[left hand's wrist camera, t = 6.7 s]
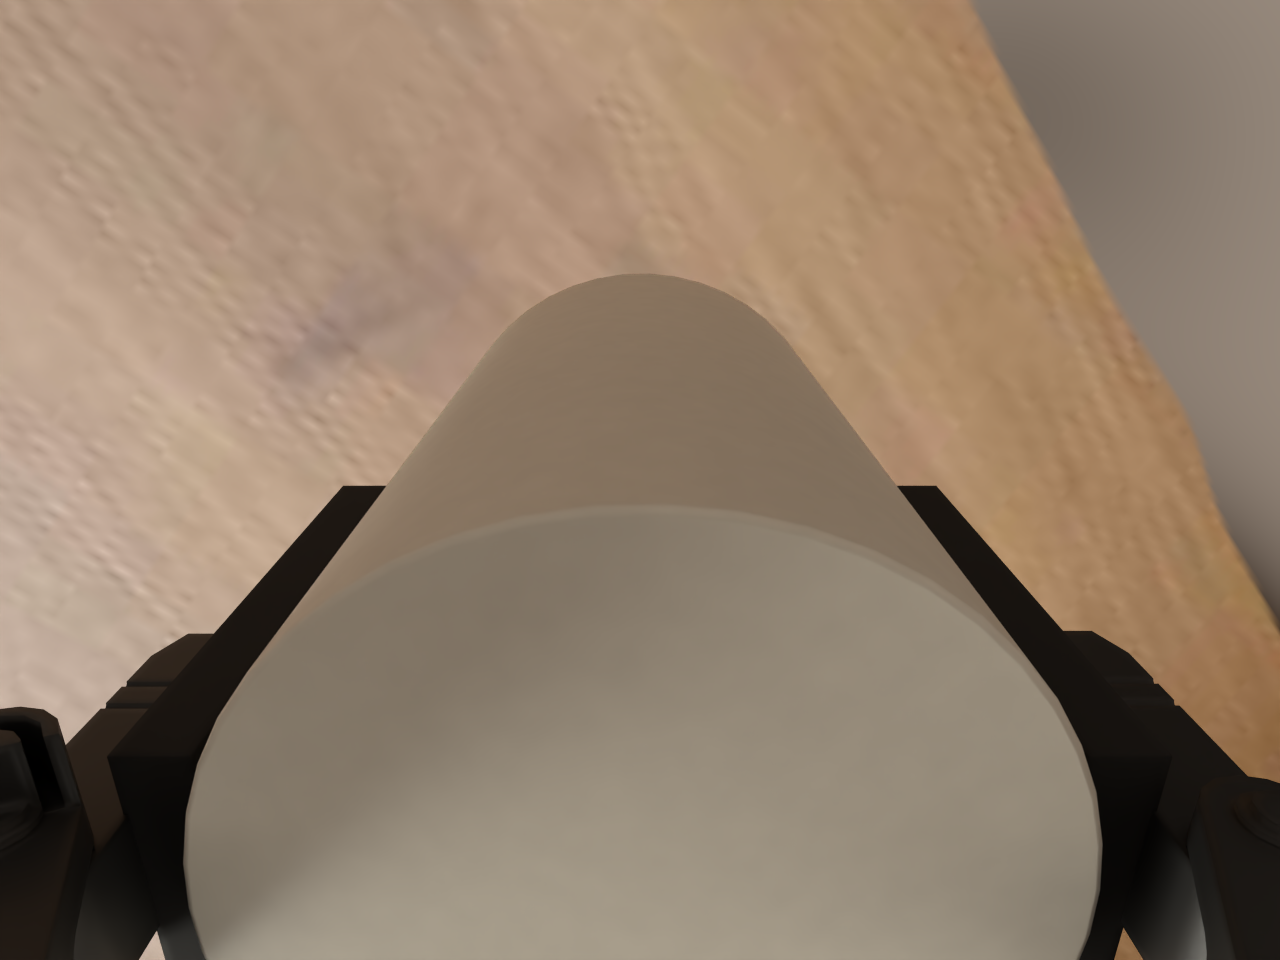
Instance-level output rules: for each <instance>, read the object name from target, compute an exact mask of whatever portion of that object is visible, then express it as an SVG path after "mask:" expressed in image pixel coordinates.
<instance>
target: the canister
mask: <svg viewBox="0 0 1280 960" xmlns="http://www.w3.org/2000/svg"><path fill="white" fill-rule="evenodd" d="M1102 846H1103V844H1102V835H1101V827H1100V818H1099V810H1098V802H1097V794H1096V790H1095V786H1094V783H1093V780H1092V777H1091V773H1090V770H1089V767H1088V764H1087V760H1086V757H1085V754H1084V751H1083V748H1082V745H1081V743H1080V741H1079V739H1078V737H1077V735H1076V733H1075V731H1074V729H1073V727H1072V725H1071V723H1070V721H1069V719H1068V718H1067V716H1066V714H1065V712H1064V710H1063V708H1062V706H1061V704H1060V702H1059V700H1058V698H1057V697H1056V696H1055V694H1054V693H1053V692H1052V690H1051V689H1050V688H1049V686H1048V685H1047V684H1046V682H1045V681H1044V680H1043V678H1042V677H1041V676H1040V674H1039V673H1038V672H1037V671H1036V669H1035V668H1034V667H1033V665H1032V664H1031V663H1030V661H1029V660H1028V659H1027V657H1026V656H1025V655H1024V653H1023V652H1022V651H1021V649H1020V648H1019V647H1018V645H1017V644H1016V643H1015V641H1014V640H1013V639H1012V637H1011V636H1010V635H1009V633H1008V632H1007V631H1006V629H1005V628H1004V627H1003V626H1002V624H1001V623H1000V622H999V620H998V619H997V618H996V616H995V615H994V614H993V612H992V611H991V610H990V608H989V607H988V606H987V604H986V603H985V602H984V600H983V599H982V598H981V597H980V595H979V594H978V593H977V591H976V590H975V589H974V587H973V586H972V585H971V583H970V582H969V581H968V579H967V578H966V577H965V575H964V574H963V573H962V571H961V570H960V569H959V568H958V566H957V565H956V564H955V562H954V561H953V560H952V558H951V557H950V556H949V554H948V553H947V552H946V550H945V549H944V548H943V546H942V545H941V544H940V542H939V541H938V540H937V539H936V537H935V536H934V535H933V533H932V532H931V531H930V529H929V528H928V527H927V525H926V524H925V523H924V521H923V520H922V519H921V517H920V516H919V515H918V513H917V512H916V511H915V509H914V508H913V507H912V506H911V504H910V503H909V502H908V500H907V499H906V498H905V496H904V495H903V494H902V492H901V491H900V490H899V488H898V487H897V486H896V484H895V483H894V482H893V480H892V479H891V478H890V477H889V475H888V474H887V473H886V471H885V470H884V469H883V467H882V466H881V465H880V463H879V462H878V461H877V459H876V458H875V457H874V455H873V454H872V453H871V451H870V450H869V449H868V448H867V446H866V445H865V444H864V442H863V441H862V440H861V438H860V437H859V436H858V434H857V433H856V432H855V430H854V429H853V428H852V426H851V425H850V424H849V422H848V421H847V420H846V418H845V417H844V416H843V415H842V413H841V412H840V411H839V409H838V408H837V407H836V405H835V404H834V403H833V401H832V400H831V399H830V397H829V396H828V395H827V393H826V392H825V391H824V389H823V388H822V387H821V386H820V384H819V383H818V382H817V380H816V379H815V378H814V376H813V375H812V374H811V372H810V371H809V370H808V368H807V367H806V366H805V364H804V363H803V362H802V360H801V359H800V358H799V357H798V355H797V354H796V353H795V351H794V350H793V349H792V347H791V346H790V345H789V343H788V342H787V341H786V339H785V338H784V337H783V336H782V335H781V334H780V333H779V332H778V331H777V330H776V329H775V328H774V327H773V326H772V325H771V324H770V323H769V322H768V321H767V320H766V319H765V318H763V317H762V316H761V315H759V314H758V313H757V312H755V311H754V310H753V309H751V308H750V307H749V306H748V305H746V304H744V303H743V302H741V301H739V300H737V299H735V298H734V297H732V296H730V295H728V294H726V293H725V292H722V291H720V290H717V289H715V288H712V287H710V286H707V285H705V284H702V283H699V282H695V281H691V280H687V279H683V278H679V277H674V276H665V275H655V274H623V275H617V276H611V277H604V278H598V279H594V280H591V281H588V282H584V283H581V284H578V285H575V286H572V287H569V288H567V289H565V290H563V291H561V292H559V293H556V294H554V295H552V296H550V297H548V298H546V299H545V300H543V301H542V302H540V303H539V304H537V305H535V306H534V307H532V308H531V309H529V310H527V311H526V312H525V313H524V314H523V315H522V316H520V317H519V318H518V319H517V320H516V321H515V322H513V323H512V324H511V325H510V326H509V327H508V328H507V329H506V330H505V331H504V332H503V333H502V334H501V336H500V337H499V338H498V339H497V340H496V341H495V342H494V343H493V344H492V346H491V347H490V348H489V350H488V351H487V352H486V354H485V355H484V356H483V358H482V359H481V360H480V362H479V363H478V364H477V366H476V367H475V368H474V370H473V371H472V372H471V374H470V375H469V376H468V378H467V379H466V380H465V382H464V383H463V384H462V386H461V387H460V388H459V390H458V391H457V392H456V394H455V395H454V396H453V398H452V399H451V400H450V402H449V403H448V405H447V406H446V407H445V409H444V410H443V411H442V413H441V414H440V415H439V417H438V418H437V419H436V421H435V422H434V423H433V425H432V426H431V427H430V429H429V430H428V431H427V433H426V434H425V435H424V437H423V438H422V439H421V441H420V442H419V443H418V445H417V446H416V447H415V449H414V450H413V451H412V453H411V454H410V455H409V457H408V458H407V459H406V461H405V462H404V463H403V465H402V466H401V467H400V469H399V470H398V471H397V473H396V474H395V475H394V477H393V478H392V479H391V481H390V482H389V483H388V485H387V486H386V487H385V489H384V490H383V491H382V493H381V494H380V495H379V497H378V498H377V499H376V501H375V502H374V503H373V505H372V506H371V507H370V509H369V510H368V511H367V513H366V514H365V515H364V517H363V518H362V519H361V521H360V522H359V523H358V525H357V526H356V527H355V529H354V530H353V531H352V533H351V534H350V535H349V537H348V538H347V539H346V541H345V542H344V543H343V545H342V546H341V547H340V549H339V550H338V551H337V553H336V554H335V556H334V557H333V558H332V560H331V561H330V562H329V564H328V565H327V566H326V568H325V569H324V570H323V572H322V573H321V574H320V576H319V577H318V578H317V580H316V581H315V582H314V584H313V585H312V586H311V588H310V589H309V590H308V592H307V593H306V594H305V596H304V597H303V598H302V600H301V601H300V602H299V604H298V605H297V606H296V608H295V609H294V610H293V612H292V613H291V614H290V616H289V617H288V618H287V620H286V621H285V622H284V624H283V625H282V626H281V628H280V629H279V630H278V632H277V633H276V634H275V636H274V637H273V638H272V640H271V641H270V642H269V644H268V645H267V646H266V648H265V649H264V650H263V652H262V653H261V654H260V656H259V657H258V658H257V660H256V661H255V662H254V664H253V665H252V666H251V668H250V669H249V670H248V672H247V673H246V675H245V676H244V678H243V679H242V681H241V682H240V684H239V685H238V687H237V688H236V690H235V691H234V693H233V695H232V696H231V698H230V699H229V701H228V702H227V704H226V705H225V707H224V708H223V710H222V711H221V713H220V714H219V716H218V717H217V720H216V722H215V724H214V727H213V729H212V731H211V734H210V736H209V738H208V740H207V743H206V745H205V747H204V750H203V752H202V754H201V757H200V759H199V761H198V764H197V767H196V772H195V776H194V780H193V784H192V789H191V793H190V797H189V801H188V806H187V810H186V819H185V838H184V858H183V866H184V874H185V882H186V890H187V898H188V906H189V910H190V914H191V917H192V920H193V924H194V927H195V930H196V934H197V937H198V940H199V944H200V947H201V950H202V953H203V955H204V957H205V959H206V960H1079V959H1080V956H1081V954H1082V952H1083V949H1084V947H1085V944H1086V942H1087V940H1088V937H1089V935H1090V931H1091V927H1092V922H1093V918H1094V914H1095V909H1096V905H1097V901H1098V897H1099V892H1100V881H1101V864H1102Z"/></svg>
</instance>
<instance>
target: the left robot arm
mask: <svg viewBox="0 0 1280 960" xmlns="http://www.w3.org/2000/svg"><path fill="white" fill-rule="evenodd" d="M385 487H386V486H343V487H342V488H341V489H340V490H339V491H338V492H337V494H336V495H335V496H334V497H333V498H332V499H331V500H330V502H329V503H328V504H327V505H326V506H325V507H324V508H323V510H322V511H321V512H320V513H319V514H318V515H317V516H316V518H315V519H314V520H313V521H312V522H311V523H310V524H309V526H308V527H307V528H306V529H305V530H304V531H303V532H302V534H301V535H300V536H299V537H298V538H297V539H296V540H295V542H294V543H293V544H292V545H291V546H290V547H289V549H288V550H287V551H286V552H285V553H284V554H283V555H282V557H281V558H280V559H279V560H278V561H277V562H276V563H275V565H274V566H273V567H272V568H271V569H270V570H269V571H268V573H267V574H266V575H265V576H264V577H263V578H262V579H261V581H260V582H259V583H258V584H257V585H256V586H255V587H254V589H253V590H252V591H251V592H250V593H249V594H248V595H247V597H246V598H245V599H244V600H243V601H242V602H241V603H240V605H239V606H238V607H237V608H236V609H235V610H234V611H233V613H232V614H231V615H230V616H229V617H228V618H227V619H226V621H225V622H224V623H223V624H222V625H221V626H220V627H219V629H218V630H217V631H216V632H215V633H214V634H187V635H185V636H184V637H182V638H180V639H179V640H177V641H175V642H174V643H172V644H170V645H169V646H167V647H165V648H164V649H162V650H160V651H159V652H157V653H155V654H154V655H152V656H151V657H150V658H149V659H148V660H147V661H146V662H145V663H144V664H143V665H142V666H141V667H140V668H139V669H138V670H137V671H136V673H135V674H134V675H133V676H132V677H131V678H130V679H129V680H128V681H127V686H126V687H121V688H120V689H119V690H118V691H117V692H116V693H115V694H114V695H113V697H112V698H111V699H110V700H109V701H108V702H107V703H106V708H105V709H100V710H99V711H98V712H97V713H96V714H95V715H94V716H93V717H92V718H91V719H90V720H89V722H88V723H87V724H86V725H85V726H84V727H83V728H82V729H81V730H80V731H79V732H78V733H77V734H76V735H75V736H74V737H73V738H72V739H71V740H70V741H69V742H68V743H67V744H66V745H65V742H64V739H63V735H62V732H61V729H60V726H59V722H58V719H57V718H56V717H54V716H53V715H51V714H50V713H48V712H47V711H45V710H43V709H35V708H27V707H14V708H5V709H0V960H139V958H140V957H141V955H142V954H143V952H144V950H145V949H146V947H147V945H148V944H149V942H150V941H151V939H152V937H153V936H154V934H155V932H156V931H157V932H158V936H159V939H160V943H161V946H162V950H163V953H164V956H165V960H206V959H205V957H204V955H203V953H202V950H201V947H200V944H199V940H198V937H197V934H196V930H195V927H194V924H193V920H192V917H191V914H190V910H189V906H188V898H187V890H186V882H185V874H184V866H183V858H184V838H185V819H186V810H187V806H188V801H189V797H190V793H191V789H192V784H193V780H194V776H195V772H196V767H197V764H198V761H199V759H200V757H201V754H202V752H203V750H204V747H205V745H206V743H207V740H208V738H209V736H210V734H211V731H212V729H213V727H214V724H215V722H216V720H217V717H218V716H219V714H220V713H221V711H222V710H223V708H224V707H225V705H226V704H227V702H228V701H229V699H230V698H231V696H232V695H233V693H234V691H235V690H236V688H237V687H238V685H239V684H240V682H241V681H242V679H243V678H244V676H245V675H246V673H247V672H248V670H249V669H250V668H251V666H252V665H253V664H254V662H255V661H256V660H257V658H258V657H259V656H260V654H261V653H262V652H263V650H264V649H265V648H266V646H267V645H268V644H269V642H270V641H271V640H272V638H273V637H274V636H275V634H276V633H277V632H278V630H279V629H280V628H281V626H282V625H283V624H284V622H285V621H286V620H287V618H288V617H289V616H290V614H291V613H292V612H293V610H294V609H295V608H296V606H297V605H298V604H299V602H300V601H301V600H302V598H303V597H304V596H305V594H306V593H307V592H308V590H309V589H310V588H311V586H312V585H313V584H314V582H315V581H316V580H317V578H318V577H319V576H320V574H321V573H322V572H323V570H324V569H325V568H326V566H327V565H328V564H329V562H330V561H331V560H332V558H333V557H334V556H335V554H336V553H337V551H338V550H339V549H340V547H341V546H342V545H343V543H344V542H345V541H346V539H347V538H348V537H349V535H350V534H351V533H352V531H353V530H354V529H355V527H356V526H357V525H358V523H359V522H360V521H361V519H362V518H363V517H364V515H365V514H366V513H367V511H368V510H369V509H370V507H371V506H372V505H373V503H374V502H375V501H376V499H377V498H378V497H379V495H380V494H381V493H382V491H383V490H384V489H385ZM897 487H898V488H899V490H900V491H901V492H902V494H903V495H904V496H905V498H906V499H907V500H908V502H909V503H910V504H911V506H912V507H913V508H914V509H915V511H916V512H917V513H918V515H919V516H920V517H921V519H922V520H923V521H924V523H925V524H926V525H927V527H928V528H929V529H930V531H931V532H932V533H933V535H934V536H935V537H936V539H937V540H938V541H939V542H940V544H941V545H942V546H943V548H944V549H945V550H946V552H947V553H948V554H949V556H950V557H951V558H952V560H953V561H954V562H955V564H956V565H957V566H958V568H959V569H960V570H961V571H962V573H963V574H964V575H965V577H966V578H967V579H968V581H969V582H970V583H971V585H972V586H973V587H974V589H975V590H976V591H977V593H978V594H979V595H980V597H981V598H982V599H983V600H984V602H985V603H986V604H987V606H988V607H989V608H990V610H991V611H992V612H993V614H994V615H995V616H996V618H997V619H998V620H999V622H1000V623H1001V624H1002V626H1003V627H1004V628H1005V629H1006V631H1007V632H1008V633H1009V635H1010V636H1011V637H1012V639H1013V640H1014V641H1015V643H1016V644H1017V645H1018V647H1019V648H1020V649H1021V651H1022V652H1023V653H1024V655H1025V656H1026V657H1027V659H1028V660H1029V661H1030V663H1031V664H1032V665H1033V667H1034V668H1035V669H1036V671H1037V672H1038V673H1039V674H1040V676H1041V677H1042V678H1043V680H1044V681H1045V682H1046V684H1047V685H1048V686H1049V688H1050V689H1051V690H1052V692H1053V693H1054V694H1055V696H1056V697H1057V698H1058V700H1059V702H1060V704H1061V706H1062V708H1063V710H1064V712H1065V714H1066V716H1067V718H1068V719H1069V721H1070V723H1071V725H1072V727H1073V729H1074V731H1075V733H1076V735H1077V737H1078V739H1079V741H1080V743H1081V745H1082V748H1083V751H1084V754H1085V757H1086V760H1087V764H1088V767H1089V770H1090V773H1091V777H1092V780H1093V783H1094V786H1095V790H1096V794H1097V802H1098V810H1099V818H1100V827H1101V835H1102V844H1103V846H1102V864H1101V881H1100V892H1099V897H1098V901H1097V905H1096V909H1095V914H1094V918H1093V922H1092V927H1091V931H1090V935H1089V937H1088V940H1087V942H1086V944H1085V947H1084V949H1083V952H1082V954H1081V956H1080V959H1079V960H1114V958H1115V954H1116V951H1117V947H1118V944H1119V940H1120V937H1121V934H1122V930H1123V927H1124V929H1125V931H1126V932H1127V934H1128V935H1129V937H1130V939H1131V940H1132V942H1133V944H1134V945H1135V947H1136V948H1137V950H1138V952H1139V953H1140V955H1141V956H1142V958H1143V960H1280V783H1277V782H1274V781H1271V780H1268V779H1262V778H1255V777H1248V776H1247V775H1246V774H1245V773H1244V772H1243V771H1242V770H1241V769H1240V768H1239V767H1238V766H1237V765H1236V764H1235V763H1234V762H1233V761H1232V760H1231V759H1230V758H1229V756H1228V755H1227V754H1226V753H1225V752H1224V751H1223V750H1222V749H1221V748H1220V747H1219V746H1218V745H1217V744H1216V743H1215V742H1214V741H1213V740H1212V739H1211V738H1210V737H1209V736H1208V735H1207V734H1206V733H1205V732H1204V731H1203V730H1202V729H1201V727H1200V726H1199V725H1198V724H1197V723H1196V722H1195V721H1194V720H1193V719H1192V718H1191V717H1190V716H1189V715H1188V714H1187V713H1186V712H1185V711H1184V710H1183V709H1182V708H1181V707H1180V706H1175V705H1174V700H1173V698H1172V697H1171V696H1170V695H1169V694H1168V693H1167V692H1166V691H1165V690H1164V689H1163V688H1162V687H1161V686H1160V685H1159V684H1154V682H1153V678H1152V677H1151V676H1150V675H1149V674H1148V673H1147V672H1146V671H1145V669H1144V668H1143V667H1142V666H1141V665H1140V664H1139V663H1138V662H1137V661H1136V660H1135V659H1134V658H1133V657H1132V656H1131V655H1130V654H1129V653H1128V652H1126V651H1124V650H1123V649H1121V648H1119V647H1118V646H1116V645H1114V644H1113V643H1111V642H1109V641H1108V640H1106V639H1104V638H1103V637H1101V636H1099V635H1098V634H1096V633H1094V632H1093V631H1063V630H1062V629H1061V628H1060V627H1059V626H1058V625H1057V624H1056V622H1055V621H1054V620H1053V619H1052V618H1051V617H1050V616H1049V614H1048V613H1047V612H1046V611H1045V610H1044V609H1043V608H1042V606H1041V605H1040V604H1039V603H1038V602H1037V601H1036V600H1035V598H1034V597H1033V596H1032V595H1031V594H1030V593H1029V591H1028V590H1027V589H1026V588H1025V587H1024V586H1023V585H1022V583H1021V582H1020V581H1019V580H1018V579H1017V578H1016V577H1015V575H1014V574H1013V573H1012V572H1011V571H1010V570H1009V569H1008V567H1007V566H1006V565H1005V564H1004V563H1003V562H1002V561H1001V559H1000V558H999V557H998V556H997V555H996V554H995V553H994V551H993V550H992V549H991V548H990V547H989V546H988V545H987V543H986V542H985V541H984V540H983V539H982V538H981V537H980V535H979V534H978V533H977V532H976V531H975V530H974V529H973V527H972V526H971V525H970V524H969V523H968V522H967V521H966V519H965V518H964V517H963V516H962V515H961V514H960V513H959V511H958V510H957V509H956V508H955V507H954V506H953V505H952V503H951V502H950V501H949V500H948V499H947V498H946V497H945V495H944V494H943V493H942V492H941V491H940V490H939V489H938V487H937V486H897Z"/></svg>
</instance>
